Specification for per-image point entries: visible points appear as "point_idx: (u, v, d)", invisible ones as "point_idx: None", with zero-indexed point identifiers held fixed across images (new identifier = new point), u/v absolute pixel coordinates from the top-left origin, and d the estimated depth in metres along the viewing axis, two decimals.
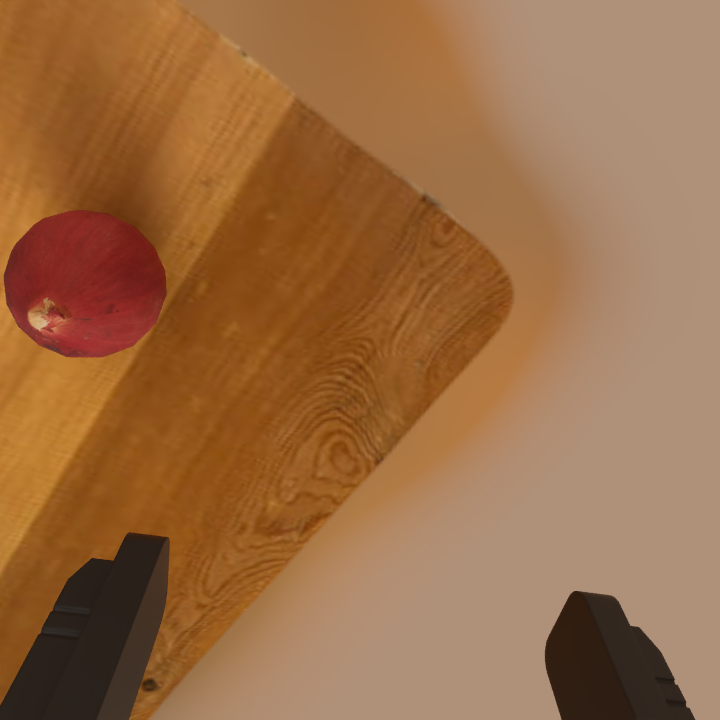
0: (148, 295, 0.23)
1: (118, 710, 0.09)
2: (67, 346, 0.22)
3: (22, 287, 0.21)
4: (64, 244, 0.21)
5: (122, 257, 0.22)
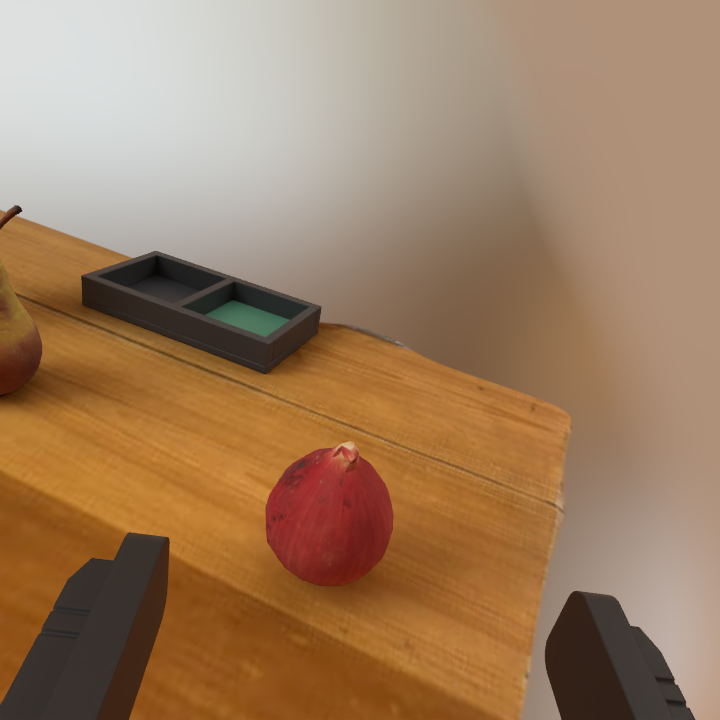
0: (344, 546, 0.24)
1: (118, 710, 0.09)
2: (310, 470, 0.25)
3: None
4: (385, 489, 0.26)
5: (378, 528, 0.25)
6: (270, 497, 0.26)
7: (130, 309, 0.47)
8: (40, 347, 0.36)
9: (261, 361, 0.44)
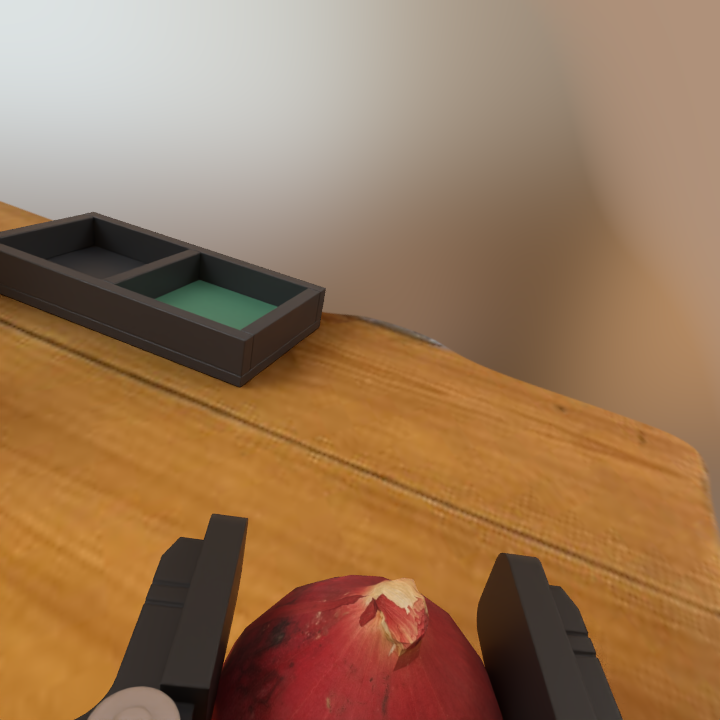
0: None
1: (217, 673, 0.10)
2: (299, 660, 0.10)
3: None
4: (487, 682, 0.11)
5: None
6: None
7: (38, 288, 0.31)
8: None
9: (233, 368, 0.28)
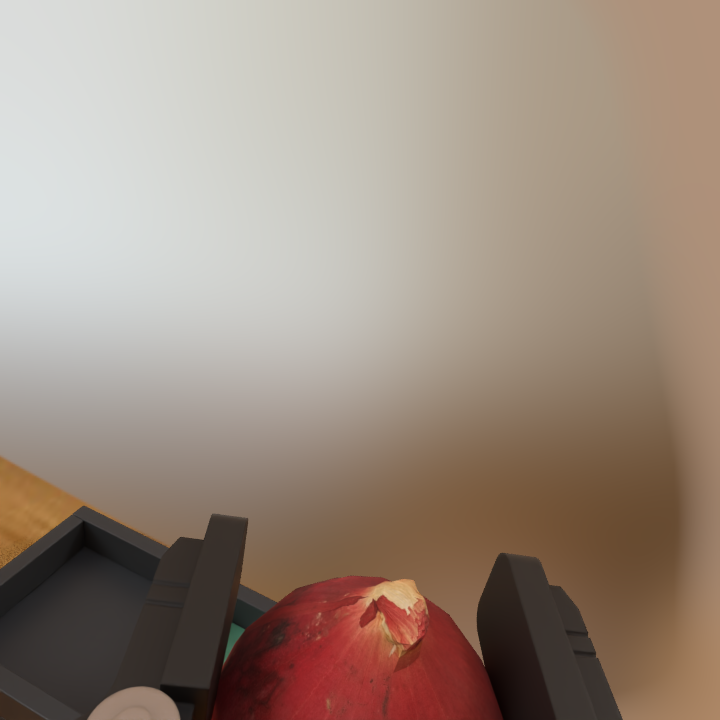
0: None
1: (217, 673, 0.10)
2: (299, 661, 0.10)
3: None
4: (488, 683, 0.11)
5: None
6: None
7: (5, 712, 0.24)
8: None
9: None
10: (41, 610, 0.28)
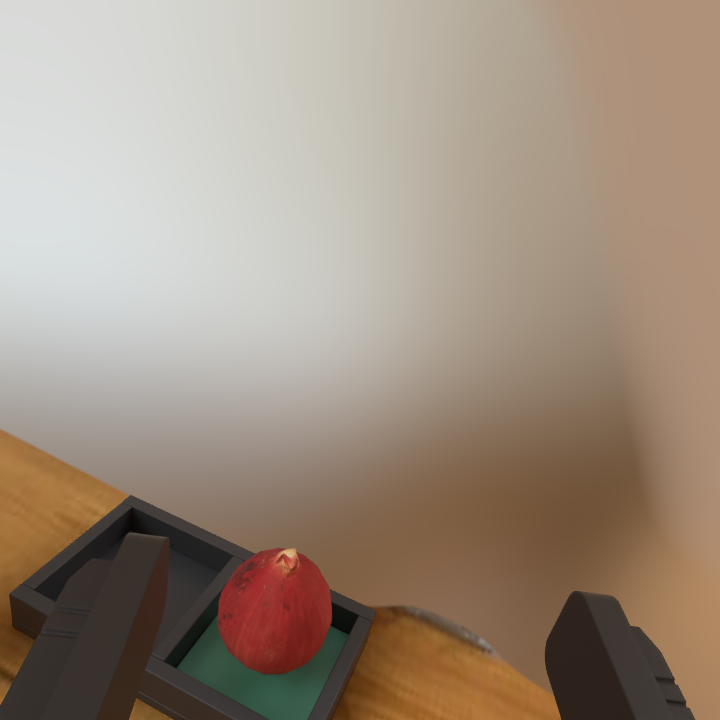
0: (284, 644, 0.28)
1: (118, 710, 0.09)
2: (256, 574, 0.29)
3: (298, 554, 0.30)
4: (324, 587, 0.30)
5: (316, 625, 0.29)
6: (222, 594, 0.30)
7: None
8: None
9: None
10: None
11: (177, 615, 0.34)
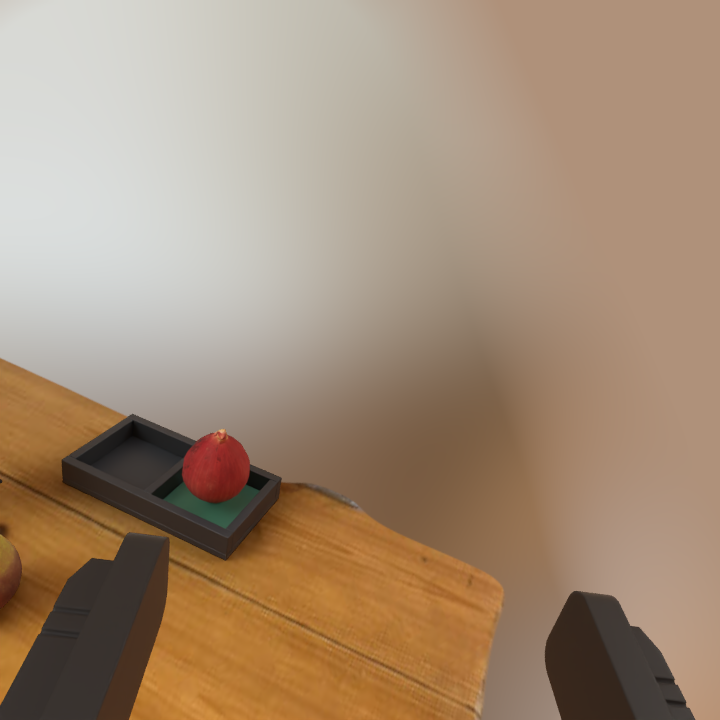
0: (217, 480, 0.50)
1: (118, 710, 0.09)
2: (202, 443, 0.50)
3: None
4: (243, 453, 0.52)
5: (236, 472, 0.50)
6: (184, 457, 0.52)
7: (105, 492, 0.52)
8: (19, 572, 0.41)
9: (221, 550, 0.49)
10: (114, 460, 0.57)
11: None
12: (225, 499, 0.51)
